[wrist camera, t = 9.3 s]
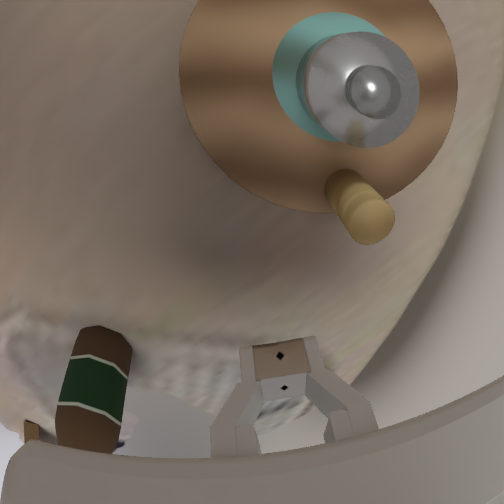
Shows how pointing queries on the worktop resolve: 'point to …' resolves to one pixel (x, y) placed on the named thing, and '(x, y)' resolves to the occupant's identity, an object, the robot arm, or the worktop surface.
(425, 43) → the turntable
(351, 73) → the cover
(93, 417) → the beer bottle
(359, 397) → the robot arm
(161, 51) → the worktop surface
